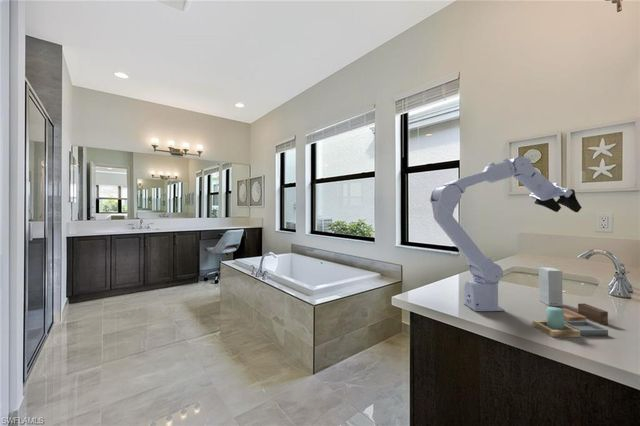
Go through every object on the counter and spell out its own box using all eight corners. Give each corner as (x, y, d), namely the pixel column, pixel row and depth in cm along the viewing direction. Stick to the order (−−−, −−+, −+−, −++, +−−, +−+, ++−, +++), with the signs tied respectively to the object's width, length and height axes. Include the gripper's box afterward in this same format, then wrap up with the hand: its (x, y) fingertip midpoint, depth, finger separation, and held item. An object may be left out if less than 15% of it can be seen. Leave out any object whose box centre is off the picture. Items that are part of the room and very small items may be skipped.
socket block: (552, 337, 72) (552, 331, 72) (532, 325, 79) (532, 320, 79) (580, 337, 72) (580, 331, 72) (557, 325, 79) (557, 320, 79)
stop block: (600, 324, 79) (600, 312, 79) (578, 314, 86) (578, 303, 86) (607, 324, 79) (607, 311, 79) (584, 314, 86) (584, 303, 86)
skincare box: (563, 306, 93) (563, 271, 93) (548, 306, 94) (548, 270, 94) (552, 300, 99) (551, 267, 99) (538, 300, 100) (538, 266, 100)
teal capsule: (554, 334, 73) (553, 311, 73) (543, 328, 77) (543, 306, 77) (567, 334, 73) (567, 311, 73) (556, 328, 77) (556, 306, 77)
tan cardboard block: (568, 326, 79) (568, 317, 79) (548, 316, 86) (548, 308, 86) (586, 325, 79) (586, 317, 79) (565, 316, 86) (565, 308, 86)
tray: (580, 336, 72) (580, 330, 72) (560, 326, 78) (560, 321, 78) (608, 335, 72) (608, 330, 72) (586, 326, 78) (586, 320, 78)
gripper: (563, 171, 86) (597, 199, 86) (528, 176, 100) (557, 201, 100) (548, 189, 86) (582, 217, 86) (516, 192, 100) (545, 216, 100)
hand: (568, 209), depth 93 cm, fingers open, 7 cm apart
